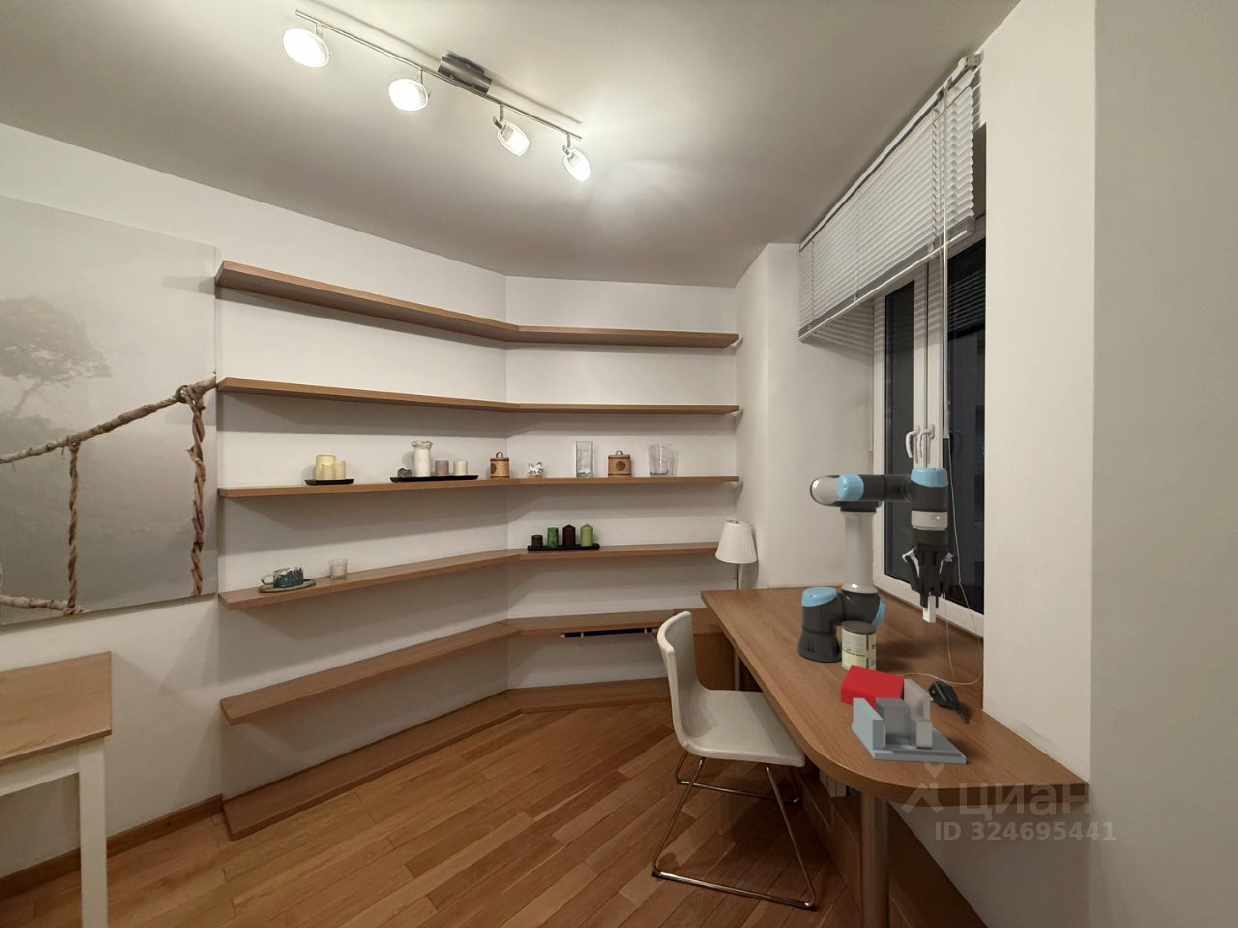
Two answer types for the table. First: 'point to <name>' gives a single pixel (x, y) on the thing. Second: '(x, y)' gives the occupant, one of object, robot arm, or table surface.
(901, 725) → the steel block
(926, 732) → the sliding jaw
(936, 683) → the power plug
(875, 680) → the red device housing
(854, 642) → the coffee can
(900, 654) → the table surface
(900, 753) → the vise base
